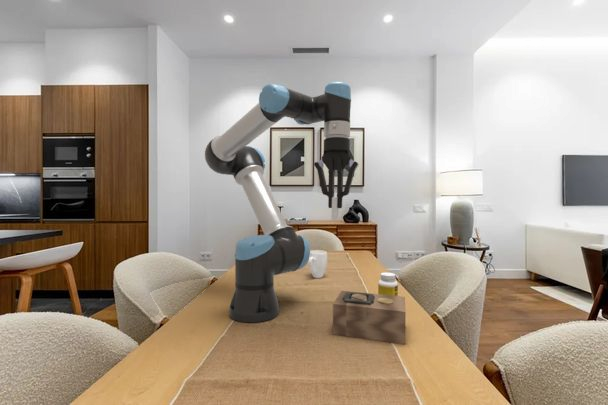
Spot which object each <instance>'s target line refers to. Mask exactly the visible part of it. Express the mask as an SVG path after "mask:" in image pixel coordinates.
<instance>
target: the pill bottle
mask: <svg viewBox="0 0 608 405" xmlns="http://www.w3.org/2000/svg"><path fill="white" fill-rule="evenodd" d="M395 279H397V278H396V274H395V273H394V272H381V273H380V279H379V281H377V282H378V283H377V284H378V285H377V290H378V291H377V294H380V295H391V296H399V295H398V294H399V284H398V282H397V281H396V280H395Z"/></svg>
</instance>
